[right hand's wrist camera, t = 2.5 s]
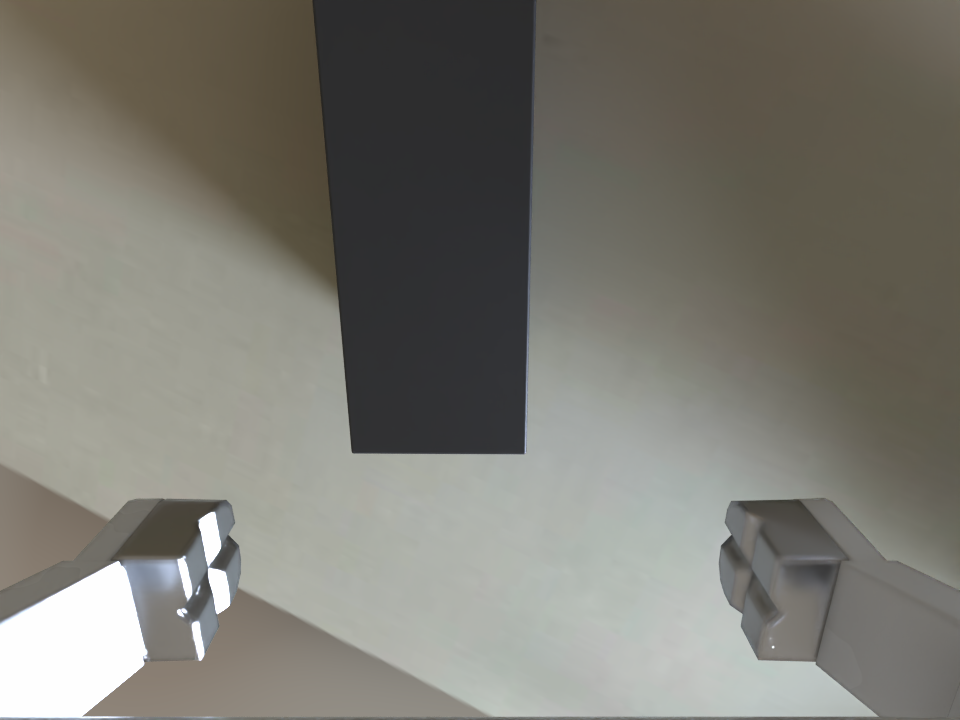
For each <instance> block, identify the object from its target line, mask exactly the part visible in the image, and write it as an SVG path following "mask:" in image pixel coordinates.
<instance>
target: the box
mask: <svg viewBox="0 0 960 720" xmlns="http://www.w3.org/2000/svg"><path fill="white" fill-rule="evenodd" d="M313 11H314V23H315V34H316V46H317V57H318V69H319V80H320V92H321V103H322V115H323V127H324V138H325V150H326V161H327V173H328V184H329V196H330V207H331V219H332V230H333V242H334V253H335V265H336V276H337V288H338V299H339V311H340V322H341V334H342V345H343V357H344V368H345V380H346V392H347V403H348V415H349V426H350V438H351V449H352V453H380V454H525V453H526V443H527V397H528V352H529V306H530V261H531V216H532V170H533V125H534V79H535V34H536V0H313Z"/></svg>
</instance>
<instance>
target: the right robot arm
mask: <svg viewBox="0 0 960 720" xmlns="http://www.w3.org/2000/svg"><path fill="white" fill-rule="evenodd" d="M234 524H235V519H234V515H233V510H232V505H231V504H230V503H229V502H228V501H227V500H200V499H134V500H130V501H128V502H127V503H126V504H125V505H124V506H123V507H122V508H121V509H120V510H119V512H118V513H117V514H116V515H115V516H114V517H113V518H112V519H111V520H110V521H109V522H108V523H107V525H106V526H105V527H104V528H103V529H102V530H101V531H100V532H99V533H98V534H97V535H96V536H95V538H94V539H93V540H92V541H91V542H90V543H89V544H88V545H87V546H86V547H85V548H84V549H83V551H82V552H81V553H80V554H79V555H78V556H77V557H76V558H75V559H74V560H73V561H61V562H59V563H57V564H55V565H53V566H51V567H49V568H47V569H45V570H43V571H41V572H39V573H36V574H34V575H32V576H30V577H28V578H26V579H24V580H22V581H20V582H18V583H16V584H14V585H12V586H9V587H7V588H5V589H3V590H1V591H0V720H960V591H959V590H957V589H955V588H952V587H950V586H948V585H946V584H944V583H942V582H940V581H938V580H936V579H934V578H932V577H930V576H928V575H926V574H923V573H921V572H919V571H917V570H915V569H913V568H911V567H909V566H907V565H905V564H903V563H901V562H899V561H887V560H886V559H885V558H884V557H883V556H882V555H881V554H880V553H879V552H878V551H877V549H876V548H875V547H874V546H873V545H872V544H871V543H870V542H869V541H868V540H867V539H866V538H865V536H864V535H863V534H862V533H861V532H860V531H859V530H858V529H857V528H856V527H855V526H854V525H853V523H852V522H851V521H850V520H849V519H848V518H847V517H846V516H845V515H844V514H843V513H842V512H841V510H840V509H839V508H838V507H837V506H836V505H835V504H834V503H833V502H832V501H830V500H827V499H825V498H816V499H793V500H755V501H731V503H730V505H729V507H728V509H727V513H726V519H725V524H726V526H727V527H728V529H729V531H730V532H731V534H732V535H731V536H730V537H729V538H728V539H727V540H726V541H725V542H724V543H723V544H722V545H721V550H720V558H719V571H720V581H721V584H722V588H723V591H724V594H725V596H726V598H727V600H728V602H729V604H730V605H731V606H732V607H734V608H735V609H736V610H738V611H739V612H741V613H742V614H743V616H742V622H741V628H742V630H743V632H744V633H745V635H746V637H747V639H748V641H749V643H750V645H751V647H752V649H753V651H754V653H755V655H756V656H757V658H758V660H775V661H811V662H816V665H817V666H818V667H820V668H821V669H822V670H823V671H824V672H826V673H827V674H828V675H829V676H830V677H832V678H833V679H834V680H835V681H837V682H838V683H839V684H840V685H841V686H843V687H844V688H845V689H846V690H848V691H849V692H850V693H851V694H852V695H854V696H855V697H856V698H857V699H858V700H860V701H861V702H862V703H863V704H865V705H866V706H867V707H868V708H869V709H871V710H872V711H873V712H874V713H875V714H877V715H878V716H879V717H81V716H82V715H83V714H85V713H86V712H87V711H88V710H89V709H91V708H92V707H93V706H94V705H96V704H97V703H98V702H99V701H101V700H102V699H103V698H104V697H105V696H107V695H108V694H109V693H110V692H111V691H113V690H114V689H115V688H116V687H118V686H119V685H120V684H121V683H122V682H124V681H125V680H126V679H127V678H129V677H130V676H131V675H132V674H133V673H135V672H136V671H137V670H138V669H139V668H141V667H142V666H143V665H144V662H148V661H184V660H202V658H203V657H204V655H205V653H206V651H207V649H208V647H209V645H210V643H211V641H212V639H213V637H214V635H215V633H216V632H217V630H218V628H219V622H218V617H217V614H218V613H219V612H221V611H222V610H224V609H225V608H226V607H228V606H229V605H230V604H231V602H232V600H233V598H234V596H235V594H236V592H237V588H238V583H239V579H240V574H241V556H240V549H239V545H238V544H237V543H236V542H235V541H234V540H233V539H232V538H231V537H230V536H229V535H228V534H229V532H230V531H231V529H232V527H233V526H234Z"/></svg>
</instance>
